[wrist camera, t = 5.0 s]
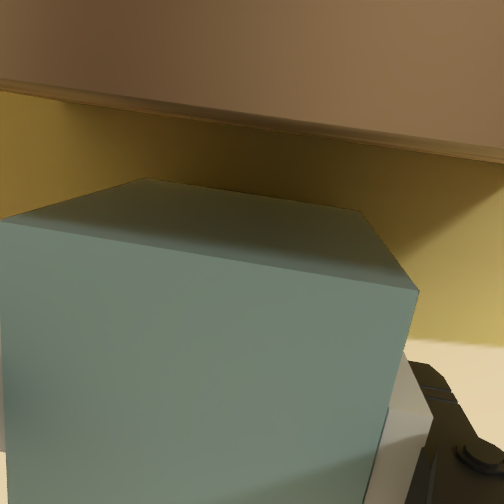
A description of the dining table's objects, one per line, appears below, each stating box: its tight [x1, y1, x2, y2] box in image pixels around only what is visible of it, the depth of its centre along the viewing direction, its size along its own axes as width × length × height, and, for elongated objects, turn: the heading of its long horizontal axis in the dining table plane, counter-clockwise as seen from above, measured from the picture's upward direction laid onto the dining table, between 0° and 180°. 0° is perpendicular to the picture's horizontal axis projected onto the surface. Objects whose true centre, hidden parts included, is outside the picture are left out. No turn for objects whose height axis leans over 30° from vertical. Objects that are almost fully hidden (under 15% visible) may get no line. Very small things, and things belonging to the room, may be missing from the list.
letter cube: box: [0, 178, 419, 504], centre depth 11 cm, size 7×7×7 cm
